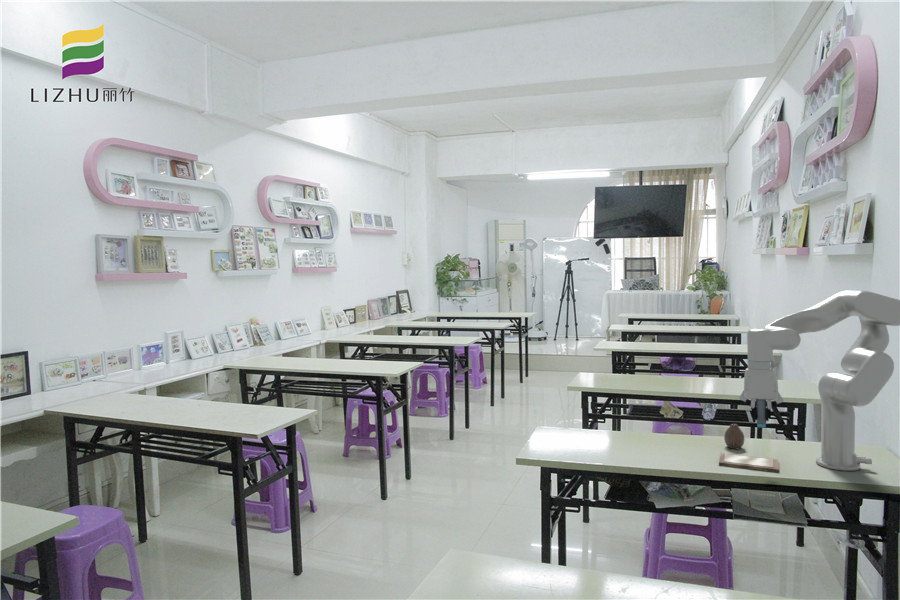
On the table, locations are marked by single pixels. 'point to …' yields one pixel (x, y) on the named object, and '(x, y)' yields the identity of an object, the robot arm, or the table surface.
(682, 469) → the table surface
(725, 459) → the brown picture frame
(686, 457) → the table surface
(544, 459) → the table surface
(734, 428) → the vase
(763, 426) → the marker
